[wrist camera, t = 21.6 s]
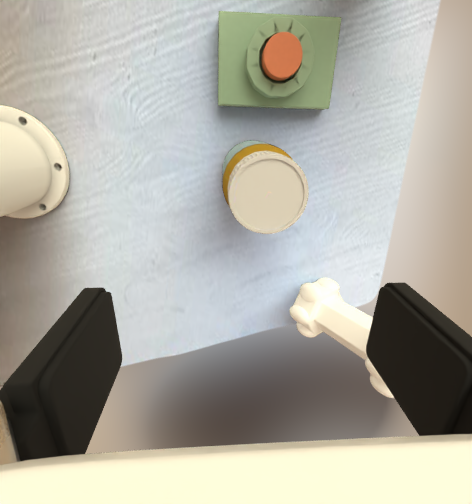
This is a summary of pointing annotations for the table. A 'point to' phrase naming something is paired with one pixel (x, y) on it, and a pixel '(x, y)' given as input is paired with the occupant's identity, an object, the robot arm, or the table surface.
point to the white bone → (335, 321)
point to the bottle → (263, 187)
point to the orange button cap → (281, 56)
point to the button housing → (250, 60)
